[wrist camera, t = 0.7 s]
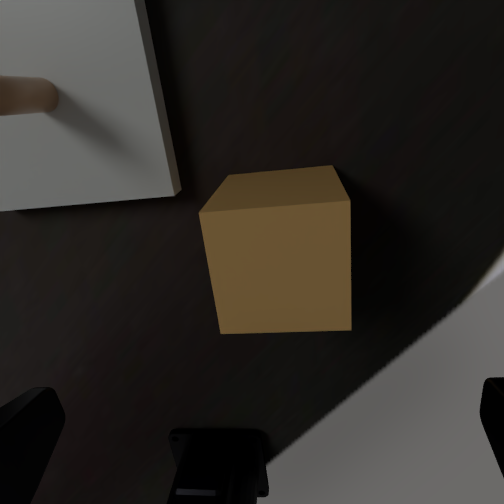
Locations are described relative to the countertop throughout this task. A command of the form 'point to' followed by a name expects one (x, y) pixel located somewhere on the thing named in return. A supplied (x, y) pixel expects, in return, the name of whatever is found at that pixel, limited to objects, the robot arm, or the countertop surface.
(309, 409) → the countertop surface
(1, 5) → the post plate
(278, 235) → the cardboard carton
